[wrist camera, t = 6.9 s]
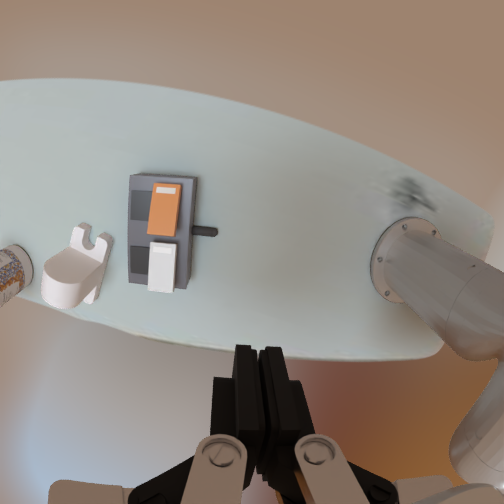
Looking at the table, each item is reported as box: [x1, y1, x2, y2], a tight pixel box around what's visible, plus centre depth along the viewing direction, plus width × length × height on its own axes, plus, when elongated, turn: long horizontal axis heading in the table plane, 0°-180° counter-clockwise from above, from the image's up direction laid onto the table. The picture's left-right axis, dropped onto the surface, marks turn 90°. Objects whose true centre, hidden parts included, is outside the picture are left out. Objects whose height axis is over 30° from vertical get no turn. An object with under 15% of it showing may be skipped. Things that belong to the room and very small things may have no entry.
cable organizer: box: [41, 223, 113, 309], centre depth 30 cm, size 5×10×10 cm, turn 154°
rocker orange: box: [147, 183, 182, 237], centre depth 28 cm, size 3×5×1 cm, turn 173°
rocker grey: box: [148, 241, 177, 293], centre depth 30 cm, size 3×5×1 cm, turn 173°
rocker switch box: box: [128, 173, 218, 289], centre depth 32 cm, size 10×12×4 cm
